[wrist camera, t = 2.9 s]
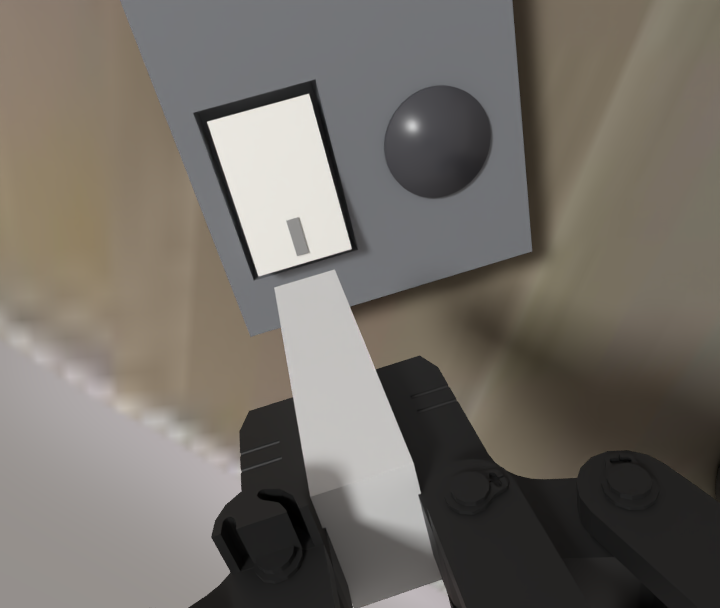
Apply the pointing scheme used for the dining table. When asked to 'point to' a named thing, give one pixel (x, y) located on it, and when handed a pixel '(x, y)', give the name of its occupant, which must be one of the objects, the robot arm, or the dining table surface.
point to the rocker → (281, 184)
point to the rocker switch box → (356, 128)
